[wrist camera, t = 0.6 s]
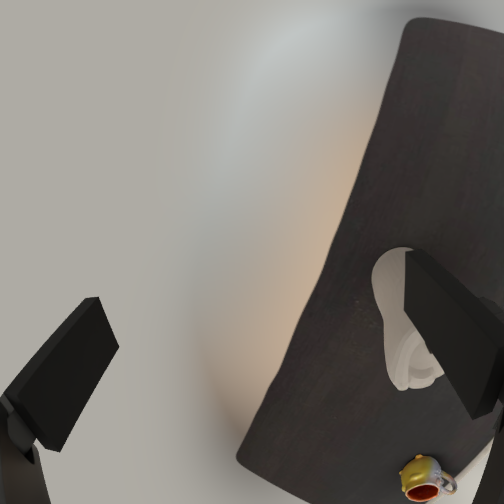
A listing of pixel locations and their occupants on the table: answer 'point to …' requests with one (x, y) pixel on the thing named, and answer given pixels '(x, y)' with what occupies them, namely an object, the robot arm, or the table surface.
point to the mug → (424, 479)
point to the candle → (401, 326)
